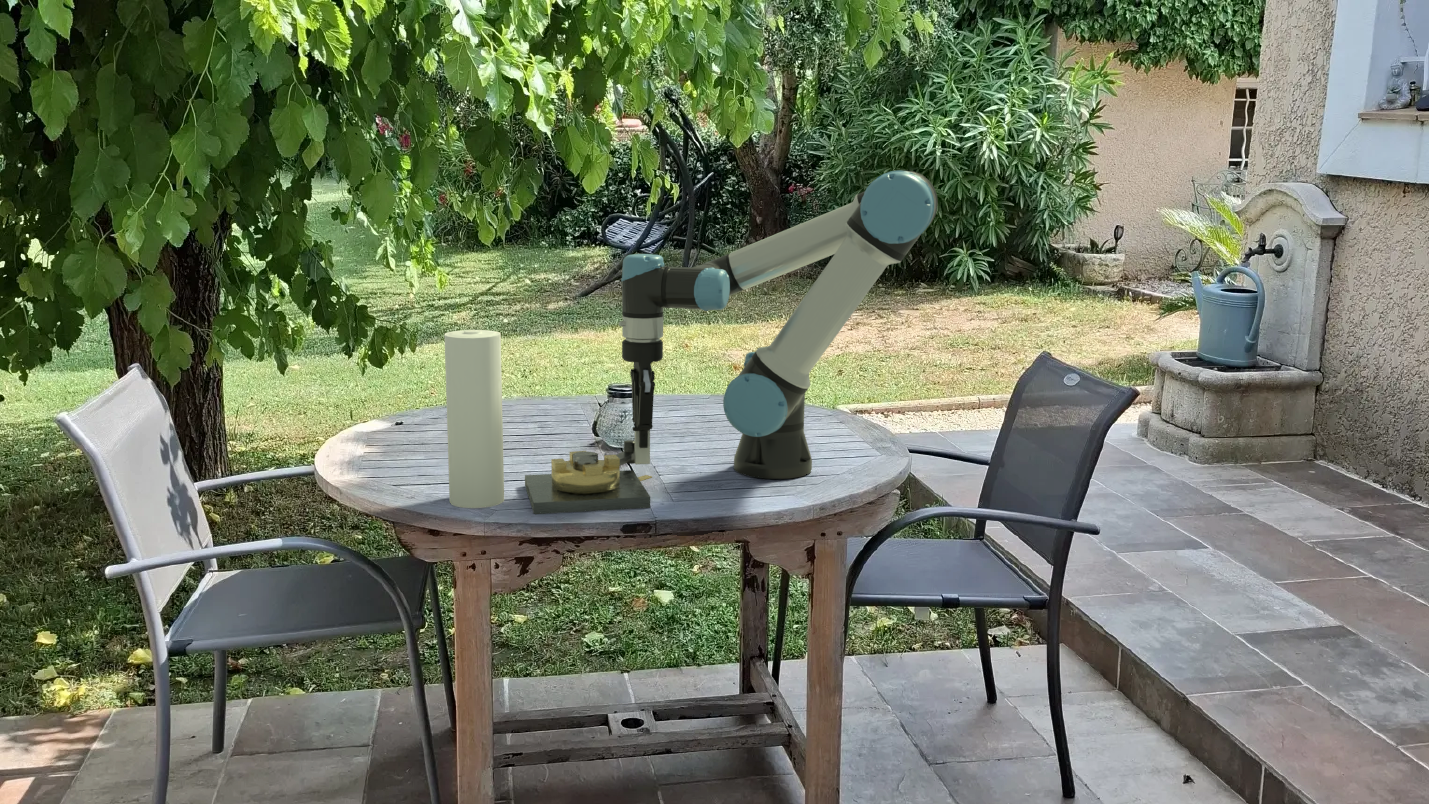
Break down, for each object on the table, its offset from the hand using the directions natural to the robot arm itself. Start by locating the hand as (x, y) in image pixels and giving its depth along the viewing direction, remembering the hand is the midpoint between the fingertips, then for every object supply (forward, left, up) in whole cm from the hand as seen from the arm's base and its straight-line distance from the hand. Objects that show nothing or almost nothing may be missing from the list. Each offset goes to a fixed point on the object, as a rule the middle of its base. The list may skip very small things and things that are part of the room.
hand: (642, 463), depth 230 cm
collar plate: (+10, +9, -3) cm, 14 cm away
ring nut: (+8, +6, -1) cm, 10 cm away
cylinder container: (+31, +9, -3) cm, 33 cm away
